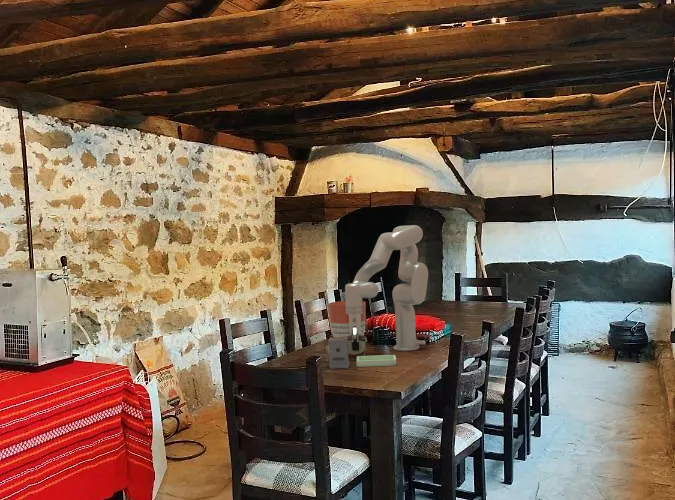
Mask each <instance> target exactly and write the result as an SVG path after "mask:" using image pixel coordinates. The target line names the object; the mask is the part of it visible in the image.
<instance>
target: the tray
mask: <svg viewBox="0 0 675 500" xmlns="http://www.w3.org/2000/svg"><path fill="white" fill-rule="evenodd" d="M355 364H356V367H357V368H364V367H365V368H368V367H369V368H370V367H395V366H397V356H396V354H382V355H381V354H380V355H379V354H378V355H365V356H357V359H356V363H355Z"/></svg>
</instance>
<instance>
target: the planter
mask: <svg viewBox="0 0 675 500" xmlns="http://www.w3.org/2000/svg"><path fill="white" fill-rule="evenodd" d="M366 306H367V305H366V301H363V300H362V312H363V313H362V314H360V316H361V336H364V334H365V331H366ZM328 314H329V324H330V325H329V326H330V331H331V333H332V336H333V337H345V336H351V334H350V326H349V314H346V300H342V301H341V300H340V301H339V300H338V301H334V302H332V301H331V302H328ZM359 336H360V335H359Z"/></svg>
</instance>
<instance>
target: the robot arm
mask: <svg viewBox="0 0 675 500" xmlns="http://www.w3.org/2000/svg"><path fill="white" fill-rule="evenodd" d="M423 236H424V233H423V229H422V228H421V227H420V226H419V225H416V224H412V225H399V226H396V227H394V228H393V230H392V232H390V231H389V232H384V233H381V234H380V236H378V239H377V241H376V243H375V246H374V248H373V250H372V254H371V256H370V258H369V259H368V261H366V262H365V263H364V264H363V265H362V267H361V268H360V269H359V270H358V271H357V272H356V275H355V276H354V279H353V281H352V283H351V282H350V283H347V284H345V287H344V291H345V292H344V293H345V294H344V295H345V301H346V314H349V326H350V334H351V336H352V351H359V342H358V336H359V335H360V336H361V316H360V314H362V313H363V312H362V301H363V299H373V298H375V297H377V295H378V294H379V290H380V288H379V286H378V285H377V284H376V283H375V282H372V281H369V280H370V279H371V278H372V276H374V275H375V274H377V273H378V272H380V271H382V270H383V269H385V268H387V265H388V263H389V261H390V258H391V255H392V253H393V251H400V258H399V264H398V265H399V266H398V272H397V273H398V274H397V275H398V278H399V280H401V281H403V282H411V283H400V284H397V285H395V286H394V287H393V290H392V294H391V295H392V300H393V304H394V305H393V306H394V312H395V313H394V319H395V320H394V321H395V335H396V336H395V339H396V340H395V341H396V344H395V345H394V346H393V349H394V350H395V351H400V352H401V351H405V352H408V351H416V350H419V349H420V345H422V346H423V345H426V340H421V339H420V340H418V339H417V337H416V334H417V333H416V314H415V313H416V311H415V308H414V305H421V304H422V303H423V302H424V301H425V299H426V295H427V288H428V282H429V281H428V280H429V269H428V267H427V265H426V264H425V263H423V262H420V261H418V258H419V257H418V256H419V250H418V247H417V245H416V244H417V243H419V242H420V241H421V240H422V238H423Z"/></svg>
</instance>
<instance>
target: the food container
mask: <svg viewBox="0 0 675 500" xmlns="http://www.w3.org/2000/svg"><path fill="white" fill-rule="evenodd" d="M345 337H348V352H349V360H357V356H366V347H367V346H366V343H368V339H367V337H366V336H365V335H363V336H358V342H359V351H352V336H345Z"/></svg>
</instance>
